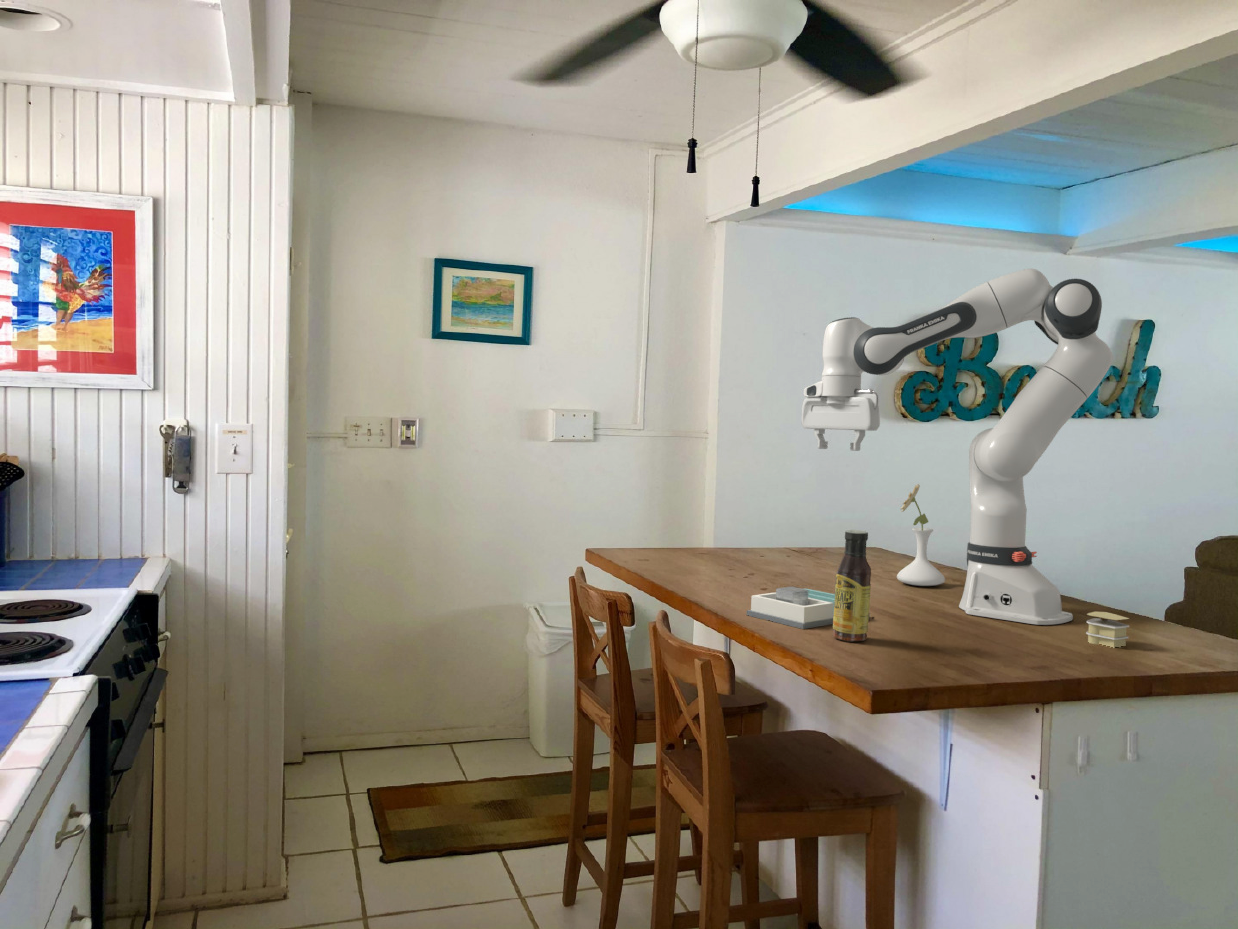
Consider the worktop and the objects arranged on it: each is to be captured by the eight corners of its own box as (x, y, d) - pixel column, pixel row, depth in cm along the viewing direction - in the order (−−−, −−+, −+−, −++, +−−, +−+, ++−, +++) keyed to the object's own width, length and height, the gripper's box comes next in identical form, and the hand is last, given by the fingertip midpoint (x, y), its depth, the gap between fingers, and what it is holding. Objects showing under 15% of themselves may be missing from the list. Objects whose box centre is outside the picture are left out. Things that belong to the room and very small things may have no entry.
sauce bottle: (825, 636, 178) (829, 529, 177) (853, 634, 181) (857, 528, 180) (847, 644, 172) (851, 533, 171) (875, 642, 175) (880, 532, 174)
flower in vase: (911, 579, 246) (915, 481, 245) (953, 586, 238) (957, 484, 237) (883, 584, 237) (887, 482, 236) (925, 591, 229) (930, 486, 228)
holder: (869, 617, 197) (870, 598, 196) (802, 629, 184) (803, 608, 184) (812, 605, 208) (813, 586, 208) (746, 615, 196) (747, 595, 196)
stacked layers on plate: (1146, 649, 176) (1147, 619, 176) (1114, 653, 172) (1115, 622, 172) (1097, 637, 185) (1098, 609, 185) (1065, 641, 181) (1066, 612, 181)
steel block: (807, 614, 193) (808, 590, 193) (792, 617, 190) (793, 592, 190) (790, 611, 196) (791, 586, 196) (775, 613, 194) (776, 588, 193)
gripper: (887, 389, 216) (884, 451, 216) (816, 390, 232) (814, 448, 232) (869, 388, 212) (866, 451, 212) (798, 389, 228) (796, 447, 228)
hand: (838, 449), depth 222 cm, fingers open, 8 cm apart
